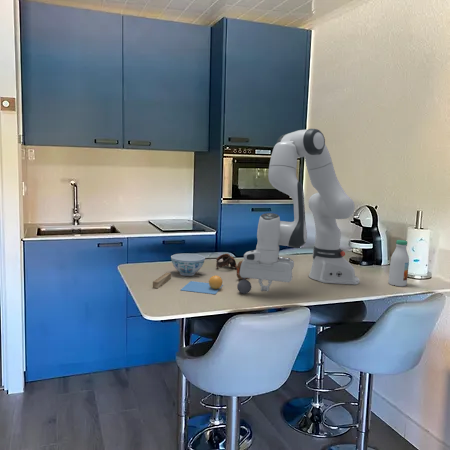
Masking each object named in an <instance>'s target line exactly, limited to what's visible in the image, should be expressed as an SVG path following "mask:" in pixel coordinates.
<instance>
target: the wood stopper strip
mask: <svg viewBox="0 0 450 450" xmlns="http://www.w3.org/2000/svg"><path fill="white" fill-rule="evenodd" d="M171 279H172V272H166V273H165V272H164V274H162V275H160V276H159V277H158V278H157V279H155V280H153V281H152V288H153V289H159V288H160V287H162V286H163V285H164V284H166V283H168V281H170V280H171Z"/></svg>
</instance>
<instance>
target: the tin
mask: <svg viewBox="0 0 450 450" xmlns="http://www.w3.org/2000/svg"><path fill="white" fill-rule="evenodd" d="M242 262H243V260H240V261H239V262H238V264H236V265H237V270H236V277H237V278H238V279H239V280H240V281H241V280H249V279H250V278H243V277H241V276H240V267H241V263H242Z"/></svg>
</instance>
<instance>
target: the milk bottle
mask: <svg viewBox="0 0 450 450" xmlns="http://www.w3.org/2000/svg"><path fill="white" fill-rule="evenodd" d="M395 246H396V247H395V249H394V251H393V253H392V254H391V258H390V264H389V270H388V271H389V272H388V284H389V285H391V286H394V285H395V287H406V286H407V283H408V275H409V265H410V258H409V257H410V256H409V254H408V251H407V246H408V240H403V239H397V240H396V241H395Z"/></svg>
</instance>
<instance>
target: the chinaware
mask: <svg viewBox="0 0 450 450" xmlns="http://www.w3.org/2000/svg"><path fill="white" fill-rule="evenodd" d="M170 258H171V263H172V265H173V268H175V270H176V271H178V272H179V274H180V276H186V277H189V276H190V277H191V276H195V274H196V272H198V271H199V270H200V269H202V267H203V265H204V263H205V259H206V257H205V256H203V255H202V254H197V253H175V254H173V255H171V256H170Z"/></svg>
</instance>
